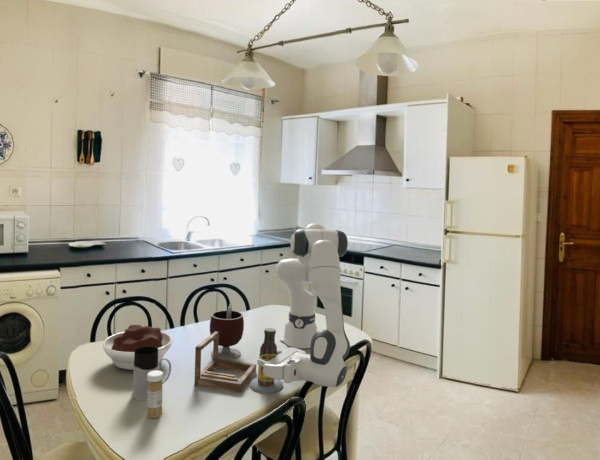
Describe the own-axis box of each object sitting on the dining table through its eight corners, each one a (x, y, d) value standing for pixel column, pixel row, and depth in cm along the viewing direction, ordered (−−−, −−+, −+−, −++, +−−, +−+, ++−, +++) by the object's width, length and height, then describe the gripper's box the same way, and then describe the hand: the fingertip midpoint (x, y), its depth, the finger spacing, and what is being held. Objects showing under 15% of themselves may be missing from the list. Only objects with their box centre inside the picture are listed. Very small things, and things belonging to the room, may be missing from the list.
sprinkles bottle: (157, 409, 143) (158, 368, 142) (165, 415, 140) (165, 373, 139) (143, 414, 140) (144, 372, 138) (151, 420, 137) (152, 377, 135)
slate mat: (255, 376, 171) (255, 374, 171) (286, 380, 169) (286, 379, 169) (244, 390, 159) (244, 388, 159) (278, 395, 157) (278, 393, 157)
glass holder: (144, 385, 159) (144, 344, 157) (178, 394, 154) (179, 351, 152) (125, 396, 151) (126, 352, 149) (161, 406, 146) (162, 360, 144)
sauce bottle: (259, 387, 161) (261, 333, 158) (256, 380, 167) (258, 327, 164) (277, 386, 162) (279, 332, 160) (273, 378, 168) (275, 326, 166)
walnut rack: (214, 365, 178) (215, 331, 177) (255, 371, 175) (257, 336, 174) (194, 385, 161) (195, 347, 159) (240, 392, 158) (241, 353, 156)
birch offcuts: (206, 379, 166) (206, 370, 166) (239, 384, 164) (239, 375, 163) (202, 383, 163) (202, 374, 162) (235, 388, 160) (235, 379, 160)
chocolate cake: (115, 384, 159) (115, 342, 157) (94, 360, 178) (94, 322, 176) (182, 368, 175) (183, 330, 173) (156, 347, 194) (157, 313, 192)
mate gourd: (239, 362, 183) (241, 313, 181) (205, 360, 184) (207, 311, 181) (245, 348, 199) (247, 303, 197) (213, 346, 199) (215, 301, 197)
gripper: (313, 347, 166) (280, 339, 172) (286, 366, 148) (250, 357, 154) (312, 364, 167) (279, 356, 173) (285, 385, 148) (249, 375, 155)
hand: (265, 356), depth 163 cm, fingers open, 8 cm apart
